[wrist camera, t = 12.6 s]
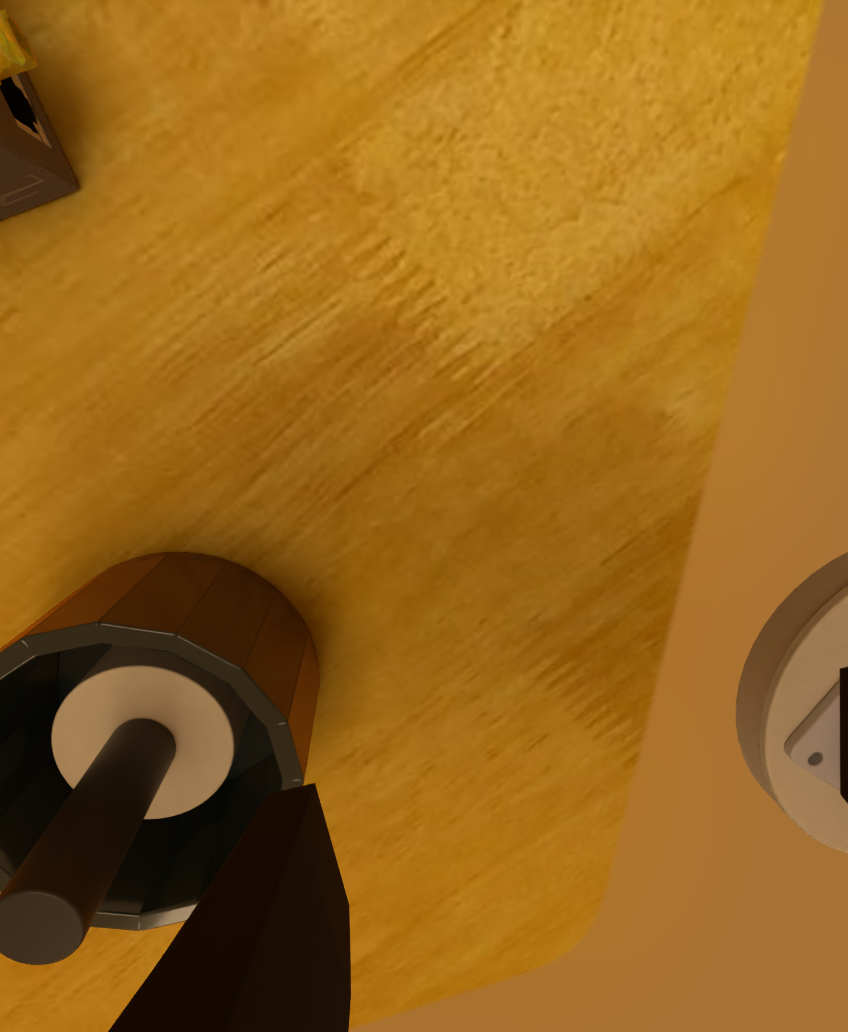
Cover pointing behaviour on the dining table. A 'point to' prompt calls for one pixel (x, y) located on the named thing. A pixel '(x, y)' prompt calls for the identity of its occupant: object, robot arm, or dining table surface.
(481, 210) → the dining table surface
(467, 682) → the dining table surface
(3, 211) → the electronic device
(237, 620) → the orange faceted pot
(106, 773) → the brush
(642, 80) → the dining table surface
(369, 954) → the dining table surface
